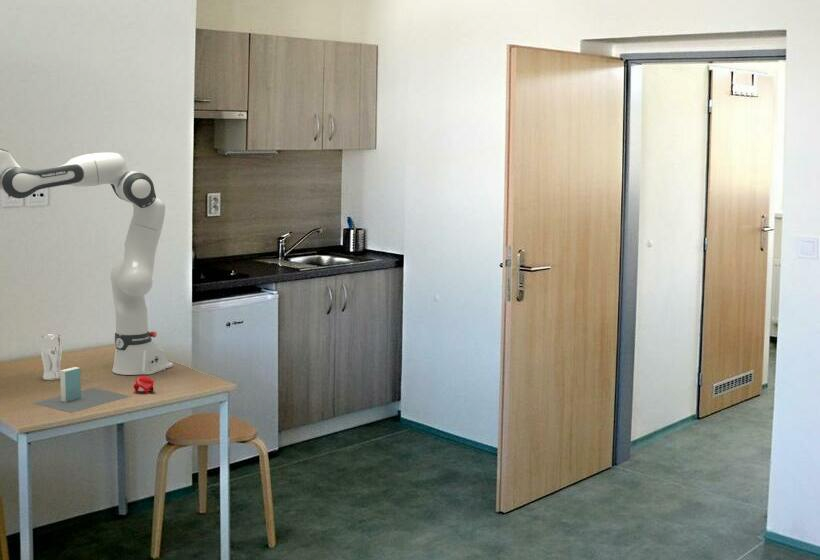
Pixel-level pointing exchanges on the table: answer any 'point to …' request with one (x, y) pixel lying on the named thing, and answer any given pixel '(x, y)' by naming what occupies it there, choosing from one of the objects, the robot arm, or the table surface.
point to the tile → (70, 384)
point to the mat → (83, 400)
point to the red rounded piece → (144, 384)
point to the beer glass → (51, 355)
